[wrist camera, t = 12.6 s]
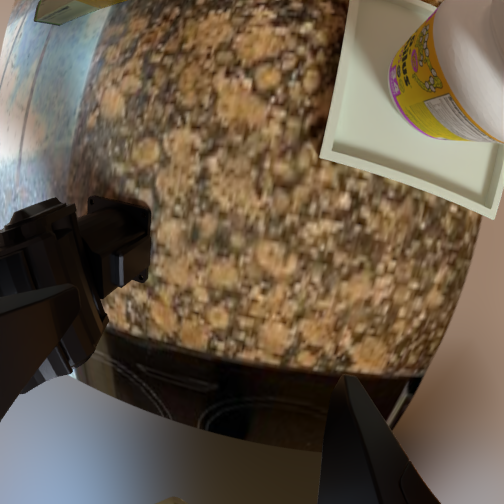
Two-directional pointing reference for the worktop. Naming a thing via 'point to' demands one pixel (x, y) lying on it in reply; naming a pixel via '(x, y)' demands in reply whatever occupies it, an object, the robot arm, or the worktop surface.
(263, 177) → the worktop surface
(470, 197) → the tray
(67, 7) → the medication box
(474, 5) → the supplement bottle
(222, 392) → the worktop surface
